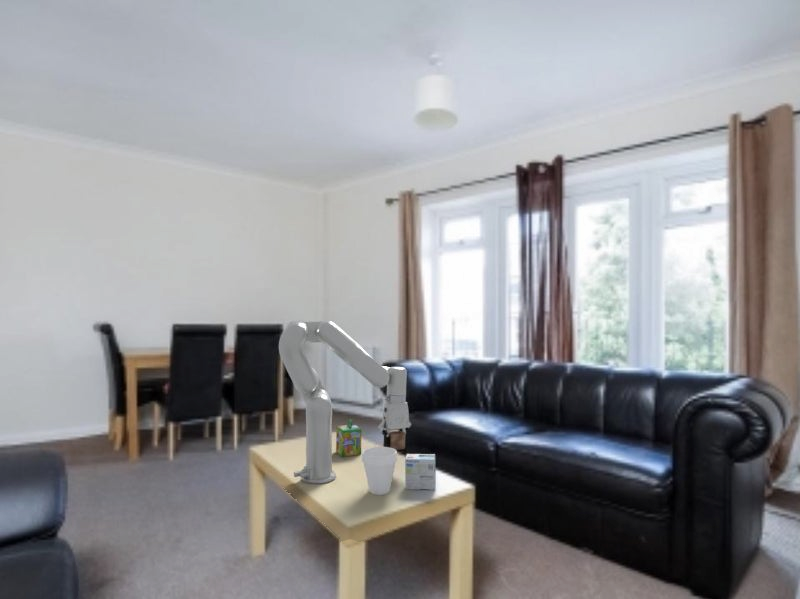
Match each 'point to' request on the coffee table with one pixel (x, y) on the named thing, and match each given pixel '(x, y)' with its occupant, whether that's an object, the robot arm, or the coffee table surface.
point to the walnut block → (397, 439)
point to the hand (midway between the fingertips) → (394, 445)
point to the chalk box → (348, 440)
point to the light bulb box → (420, 471)
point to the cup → (379, 468)
